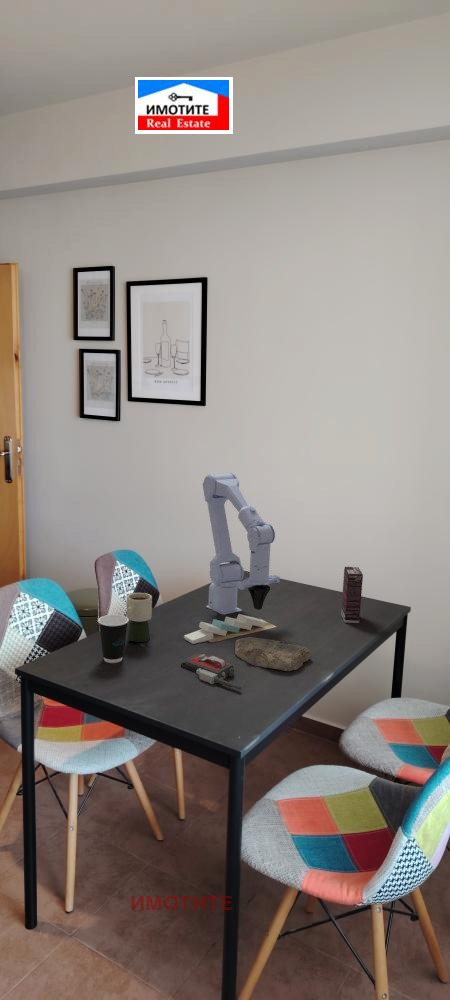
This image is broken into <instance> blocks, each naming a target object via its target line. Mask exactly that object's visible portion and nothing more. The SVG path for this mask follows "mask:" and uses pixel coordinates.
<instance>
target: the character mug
mask: <svg viewBox="0 0 450 1000" xmlns="http://www.w3.org/2000/svg"><path fill="white" fill-rule="evenodd" d="M125 603H126V614H125V616H126V617H127V618H128V619H129V621H130V622H129V624H128V630H127V631H128V632H127V640H128V641H130V642H134V643H144V642H148V641H149V640H150V639H151V638H150V637H151V636H150V635H151V634H150V625H149V620H151V619H152V613H153V612H152V611H153V609H152V608H153V596H152V595H151V594H149V593H146V592H132V593H129V594H127V595H126V602H125Z"/></svg>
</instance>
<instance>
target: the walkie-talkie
mask: <svg viewBox="0 0 450 1000" xmlns="http://www.w3.org/2000/svg"><path fill="white" fill-rule="evenodd" d="M180 666H181V668H183V669H186V670H189V671H192V672H194V673H195V674H197V676H198V678H199V680H200V681H203V682H206V683H209V684H211V685H214V684H221V685H223V686H225V687H228V688H234V689H236V690H237V689H238V690H241V691H242V686H241V685H238V684H235V683H232V682H230V681H227V680H225V679H226V678H228V677H232V676H234V673H235V669H234V665H233V664H231V663H229V662H227V661H226V660H225V659H224V658H219V657H217V656H214V655H211V656H207V655H206V654H204V653H203V654H201V653H195V654H192V655H191V656H189V657H186V659H185V662H181V663H180Z"/></svg>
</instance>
